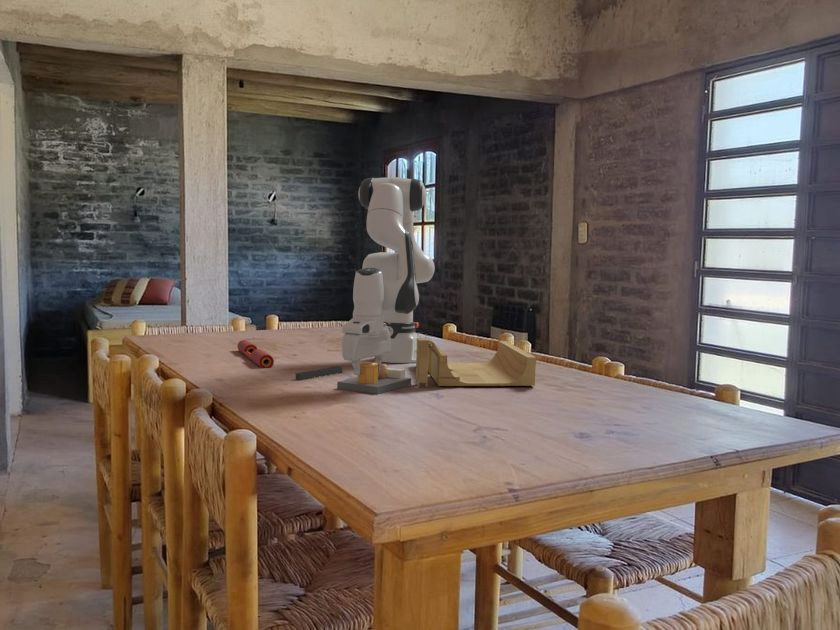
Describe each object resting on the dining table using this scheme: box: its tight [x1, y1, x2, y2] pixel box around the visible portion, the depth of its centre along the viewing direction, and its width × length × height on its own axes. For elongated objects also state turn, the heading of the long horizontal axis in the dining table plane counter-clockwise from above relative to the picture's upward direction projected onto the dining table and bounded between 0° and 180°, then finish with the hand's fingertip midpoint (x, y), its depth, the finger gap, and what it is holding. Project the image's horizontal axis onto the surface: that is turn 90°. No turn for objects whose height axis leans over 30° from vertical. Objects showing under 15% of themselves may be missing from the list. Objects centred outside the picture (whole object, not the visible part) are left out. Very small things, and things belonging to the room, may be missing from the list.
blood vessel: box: [236, 339, 275, 369], centre depth 265 cm, size 42×5×5 cm, turn 23°
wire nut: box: [356, 361, 378, 384], centre depth 213 cm, size 6×6×6 cm
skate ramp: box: [415, 331, 537, 388], centre depth 239 cm, size 40×35×16 cm
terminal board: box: [336, 363, 412, 395], centre depth 217 cm, size 18×14×6 cm
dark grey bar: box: [295, 366, 343, 381], centre depth 233 cm, size 19×3×4 cm
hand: (367, 372), depth 213 cm, fingers open, 8 cm apart
